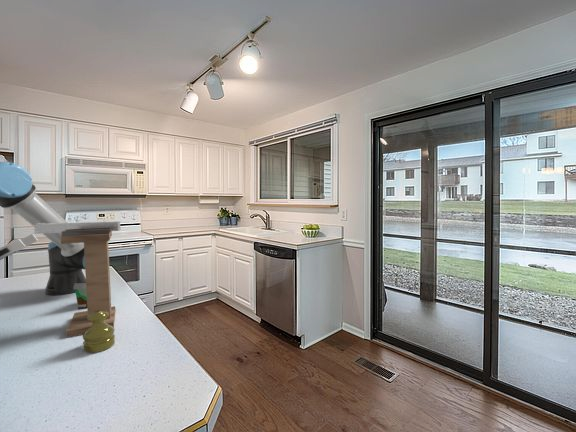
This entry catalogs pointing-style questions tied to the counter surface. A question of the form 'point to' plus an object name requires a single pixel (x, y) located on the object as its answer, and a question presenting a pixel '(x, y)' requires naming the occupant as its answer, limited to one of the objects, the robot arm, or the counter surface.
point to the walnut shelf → (92, 276)
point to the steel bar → (74, 226)
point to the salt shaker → (98, 333)
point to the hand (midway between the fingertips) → (29, 239)
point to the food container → (81, 295)
